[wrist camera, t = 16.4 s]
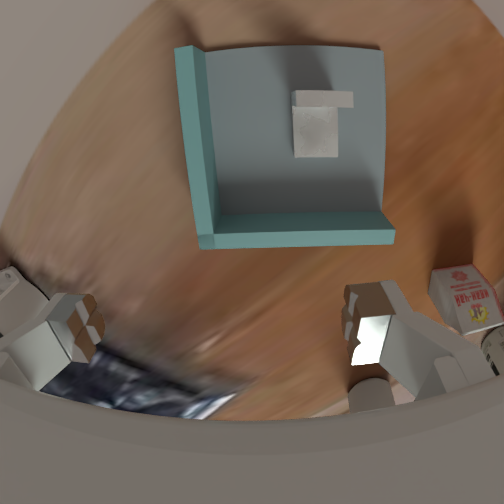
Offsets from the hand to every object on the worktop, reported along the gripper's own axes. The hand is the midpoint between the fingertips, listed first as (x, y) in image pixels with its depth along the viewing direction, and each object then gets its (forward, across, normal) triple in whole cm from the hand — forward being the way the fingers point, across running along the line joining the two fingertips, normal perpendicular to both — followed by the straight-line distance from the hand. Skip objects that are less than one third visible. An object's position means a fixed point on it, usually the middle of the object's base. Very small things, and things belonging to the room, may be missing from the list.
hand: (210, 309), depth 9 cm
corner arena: (+22, -5, -2) cm, 22 cm away
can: (+22, -17, +37) cm, 46 cm away
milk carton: (+21, -25, +15) cm, 36 cm away
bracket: (+21, -6, -4) cm, 22 cm away
